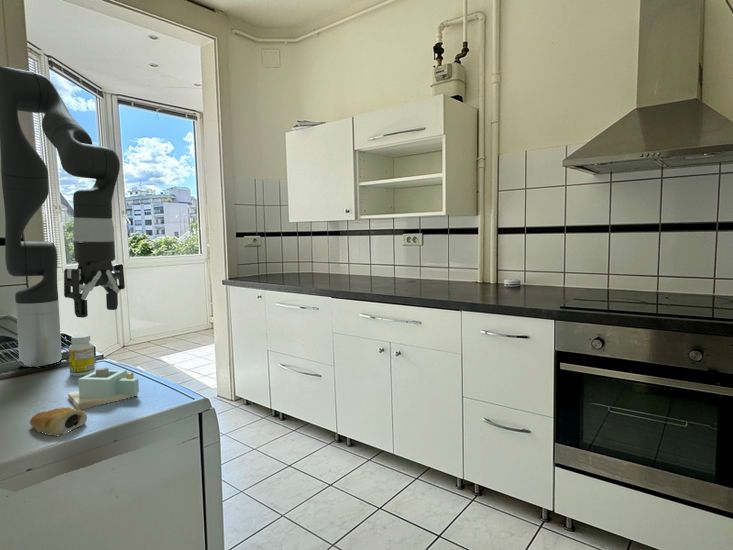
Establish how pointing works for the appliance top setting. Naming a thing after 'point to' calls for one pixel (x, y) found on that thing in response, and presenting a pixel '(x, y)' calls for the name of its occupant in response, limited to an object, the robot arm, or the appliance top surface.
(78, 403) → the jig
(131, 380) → the pale green hollow block
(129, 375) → the pin
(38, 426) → the pastry
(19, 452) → the appliance top surface
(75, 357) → the supplement bottle
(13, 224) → the robot arm
